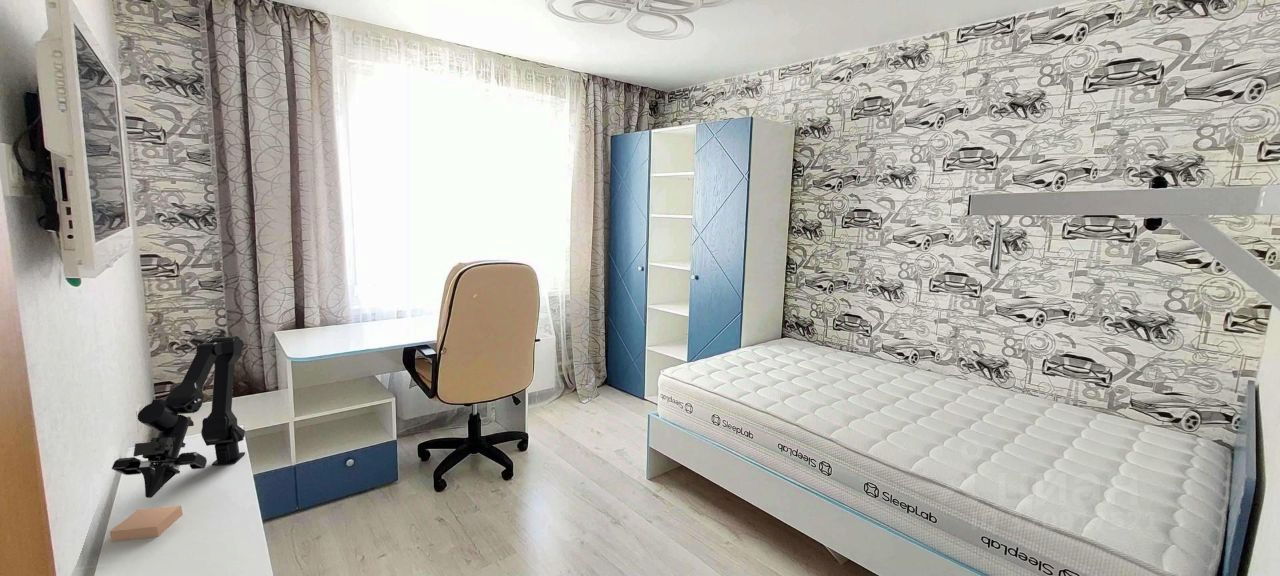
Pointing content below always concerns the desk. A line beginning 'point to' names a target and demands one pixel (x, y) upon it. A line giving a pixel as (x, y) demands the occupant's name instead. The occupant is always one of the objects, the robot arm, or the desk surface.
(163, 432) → the robot arm
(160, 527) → the tile
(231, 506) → the desk surface
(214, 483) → the desk surface
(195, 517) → the desk surface
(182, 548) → the desk surface
